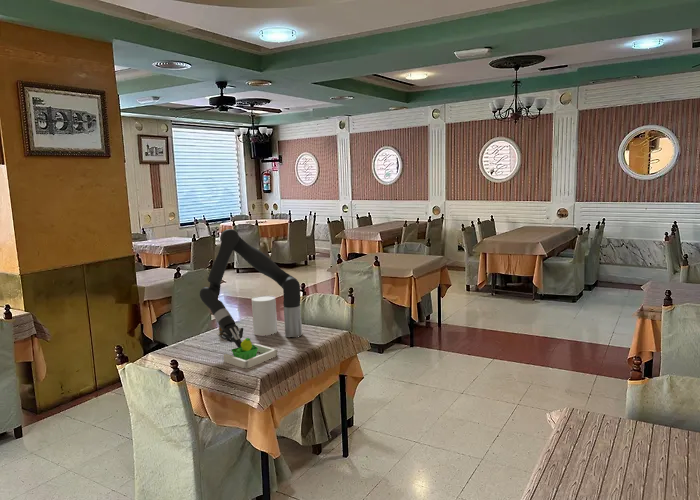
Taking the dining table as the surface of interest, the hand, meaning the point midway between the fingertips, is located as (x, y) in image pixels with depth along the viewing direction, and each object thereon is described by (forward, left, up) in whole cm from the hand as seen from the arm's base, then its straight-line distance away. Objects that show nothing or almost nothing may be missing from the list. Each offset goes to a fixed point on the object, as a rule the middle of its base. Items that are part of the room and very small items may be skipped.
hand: (241, 346), depth 251 cm
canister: (-6, -39, -5) cm, 39 cm away
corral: (-5, +5, -5) cm, 9 cm away
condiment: (+17, -38, -5) cm, 42 cm away
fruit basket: (-3, +4, -5) cm, 7 cm away
